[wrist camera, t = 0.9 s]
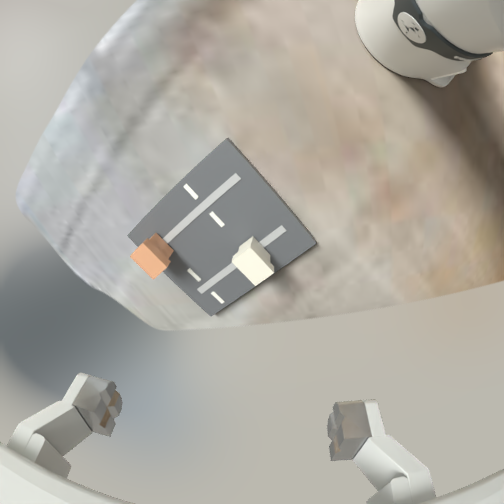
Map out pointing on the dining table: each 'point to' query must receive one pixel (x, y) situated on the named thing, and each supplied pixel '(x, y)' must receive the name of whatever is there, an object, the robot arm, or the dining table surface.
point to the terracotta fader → (153, 255)
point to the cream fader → (253, 261)
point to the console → (221, 227)
